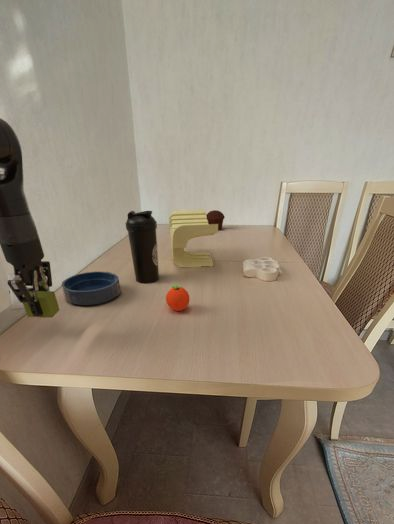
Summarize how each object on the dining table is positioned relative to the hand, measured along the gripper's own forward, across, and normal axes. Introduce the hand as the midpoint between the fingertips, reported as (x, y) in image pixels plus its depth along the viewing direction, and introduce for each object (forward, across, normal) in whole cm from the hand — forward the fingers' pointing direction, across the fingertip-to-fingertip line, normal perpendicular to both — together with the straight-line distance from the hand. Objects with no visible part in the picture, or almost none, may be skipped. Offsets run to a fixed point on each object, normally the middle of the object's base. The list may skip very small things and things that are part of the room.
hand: (43, 310), depth 71 cm
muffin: (+8, -124, +40) cm, 131 cm away
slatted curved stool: (+8, -62, +31) cm, 70 cm away
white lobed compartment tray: (+7, -50, +59) cm, 78 cm away
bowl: (+8, -27, +1) cm, 28 cm away
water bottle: (+8, -42, +16) cm, 46 cm away
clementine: (+8, -18, +30) cm, 36 cm away
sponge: (+1, 0, 0) cm, 1 cm away
